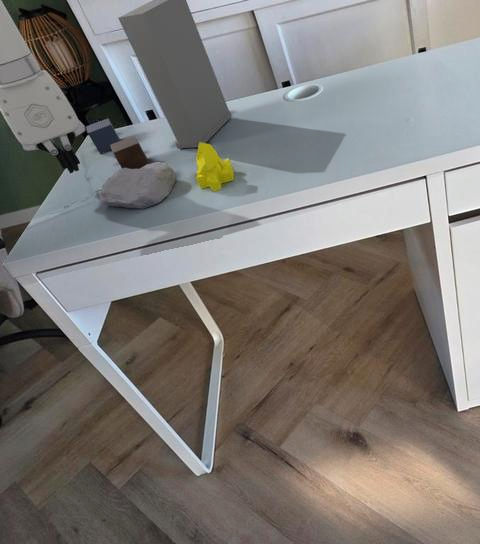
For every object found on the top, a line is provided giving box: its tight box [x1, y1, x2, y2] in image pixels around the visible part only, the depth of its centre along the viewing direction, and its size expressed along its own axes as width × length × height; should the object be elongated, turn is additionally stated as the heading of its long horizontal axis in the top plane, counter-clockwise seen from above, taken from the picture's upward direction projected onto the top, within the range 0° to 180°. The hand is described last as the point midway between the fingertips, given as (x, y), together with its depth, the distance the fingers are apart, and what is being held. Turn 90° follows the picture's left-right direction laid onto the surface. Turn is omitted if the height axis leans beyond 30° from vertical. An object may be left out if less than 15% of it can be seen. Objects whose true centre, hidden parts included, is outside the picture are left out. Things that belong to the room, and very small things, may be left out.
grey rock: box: [98, 161, 178, 210], centre depth 86 cm, size 12×5×10 cm
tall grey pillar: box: [117, 0, 233, 150], centre depth 96 cm, size 14×6×25 cm, turn 165°
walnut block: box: [110, 135, 151, 169], centre depth 96 cm, size 5×5×5 cm
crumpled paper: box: [195, 142, 235, 193], centre depth 84 cm, size 6×8×8 cm
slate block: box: [85, 117, 122, 155], centre depth 107 cm, size 5×5×5 cm
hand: (74, 169), depth 92 cm, fingers closed
